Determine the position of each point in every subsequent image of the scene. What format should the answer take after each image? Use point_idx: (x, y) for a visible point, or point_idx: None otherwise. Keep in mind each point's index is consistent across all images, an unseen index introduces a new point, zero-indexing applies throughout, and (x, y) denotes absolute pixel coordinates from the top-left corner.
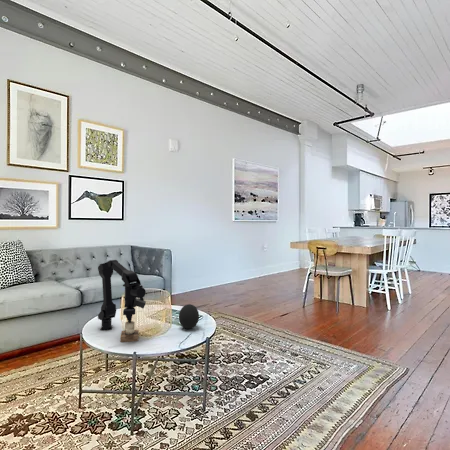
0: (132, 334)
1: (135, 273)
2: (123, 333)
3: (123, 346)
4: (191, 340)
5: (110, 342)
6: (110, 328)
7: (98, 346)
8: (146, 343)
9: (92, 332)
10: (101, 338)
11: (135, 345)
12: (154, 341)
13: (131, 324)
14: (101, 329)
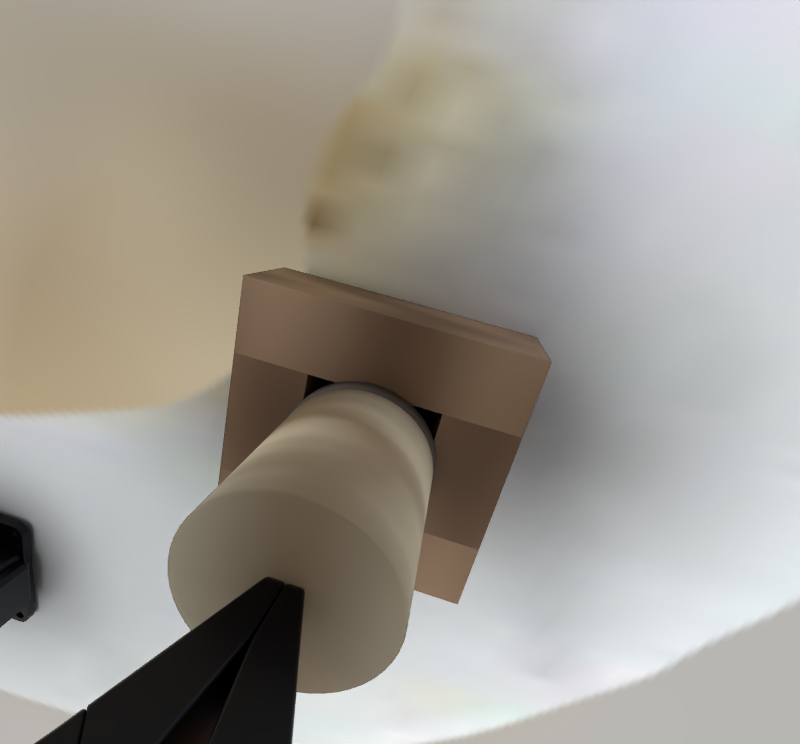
0: (436, 432)
1: None
2: None
3: (617, 551)
4: None
5: (410, 626)
6: (9, 536)
7: (466, 734)
8: (714, 237)
9: (79, 675)
10: None
11: (683, 415)
12: (715, 62)
13: (407, 587)
14: (28, 613)
